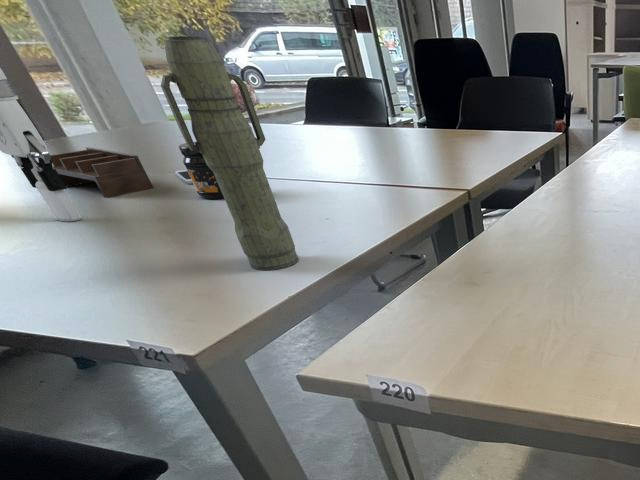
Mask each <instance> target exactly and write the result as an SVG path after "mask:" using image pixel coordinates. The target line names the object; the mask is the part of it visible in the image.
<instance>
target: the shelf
mask: <svg viewBox="0 0 640 480" xmlns="http://www.w3.org/2000/svg"><path fill="white" fill-rule="evenodd" d="M50 159H51V160H52V164H53V165H54V166H55V169H56V171H57V173H58V174H59V176H60V178H61V179H62V181H63V183H64V184H65V186H67V187H71V185H72V186H77V185H76V184H78V185H81V184H80V183H83V184H86V183H85V182H88V183H91V182H90V181H94V182H95V184H96V185H97V187H98V189H99V190H100V191H99V192H101V194H102V196H103V197H104V198H106V197H108V198H111V197H110V196H112V197H118V196H121V194H122V195H126V193H127V194H131V193H135V192H136V193H137V192H140V191H145V190H149V189H153V188H154V186H153V184H152V182H151V179H150V177H149V175H148V174H147V172H146V170H145V168H144V166H143V164H142V162H141V160H140V158H139V156H138V155H136V154H130V153H124V152H118V151H113V150H106V149H101V148H95V147H90V146H89V147H88V146H87V147H85V149H83V150H81V149H80V150H75V151H69V152H62V153H55V154H50Z"/></svg>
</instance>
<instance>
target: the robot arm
mask: <svg viewBox="0 0 640 480" xmlns="http://www.w3.org/2000/svg"><path fill="white" fill-rule="evenodd" d="M18 100H19V96H18V95H17V93H16V91H15V90H14V88H13V86H12V85H11V83H10V80H9V79H8V78H7V76H6V75H5V73H4V71H3V70H2V68H1V67H0V152H1V153H3V154H5V155H8V156H9V155H10V157H12V158H13V159H14V161H15V163H16V165H17V166H18V167H19V168H20V170H21V172H22V173H23V175H24V177H25V178H26V179H27V181H28V183H29V184H30V186H31V187H32V188H34V189H37V188H36V186H35V183H36V182H37V181H38V180H37V179H36V177H35V176H34V174H33V172H32V171H31V169H33V164H34V165H35V167H36V168H37V169H38V170H39V171H37V173H38V174H39V176H40V177H41V179H42V181H43V182H44V184H45V185H46V187H47V189H48V190H49V191H58V190H63V189H64V190H67V187H66V186H65V184H64V183H63V181H62V179H61V178H60V176H59V174H58V173H57V171H56V169H55V166H54V165H53V164H52V160H51V159H50V155H51V153H50V152H49V149H48V146H47V145H46V143H45V141H44V139H43V137H42V136H41V135H40V133H39V130H37V128H36V127H35V125H34V123H33V122H32V120H31V118H30V117H29V116H28V114H27V113H26V111H25V110H24V109H23V108H22V106H21V104H20V103H19V102H18ZM32 163H33V164H32Z"/></svg>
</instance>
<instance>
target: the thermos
mask: <svg viewBox="0 0 640 480" xmlns="http://www.w3.org/2000/svg"><path fill="white" fill-rule="evenodd" d="M167 38H168V39H164V49H165V57H166V63H167V65H168V67H169V70H170V72H169V73H167V74H163V75H162V79H161V83H160V87H161V90H162V92H163V95H164V97H165V100H166V102H167V104H168V105H169V108H170V110H171V113H172V115H173V117H174V120H175V122H176V124H177V127H178V128H179V130H180V133H181V135H182V137H183V139H184V141H185V143H187V145H188V147H189V148H190V150H191V151H199V153H201V154H202V155H203V157H204V160H205V162H206V164H207V166H208V167H209V168H210V169H211V170H212V171H213V173H214V175H215V178H216V180H217V182H218V185H219V187H220V189H221V192H222V194H223V196H224V198H223V200H224V201H225V204H226V205H227V209H228V211H229V213H230V215H231V217H232V219H233V222H234V232H235V235H236V237H237V239H238V242H239V244H240V247H241V250H242V252H243V253H244V255H245V256H246V257H247V259H248V262H249V265H250V267H251V268H252V269H253V270H258V271H276V270H282V269H286V268H289V267H291V266H294V265H296V264H297V263H298V262H299V261H298V260H300V259H299V256H298V254H297V251H296V245H295V243H294V239H293V237H292V234H291V232H290V229H289V226H288V224H287V223H286V221H284V219H283V218H282V216H281V213H280V210H279V208H278V204H277V202H276V199H275V197H274V194H273V191H272V189H271V185H270V183H269V180H268V177H267V175H266V172H265V170H264V158H263V156H262V153H261V150H260V149H261V147H262V146H263V145H264V143H265V142H266V137H265V134H264V132H263V128H262V125H261V122H260V121H259V117H258V115H257V111H256V109H255V105H254V103H253V99H252V97H251V95H250V92H249V89H248V86H247V84H246V83H245V82H244V81H243V80H242V79H241V78H240V77H239V76H238V75H237V74H234V73H229V72H228V71H227V69H226V67H225V64H224V61H223V59H222V58H221V56H220V54H219V53H218V51H217V50H216V48H215V47H214V45H213V44H212V42H211V41H210V40H207V39H205V37H204V36H188V35H187V36H185V35H184V36H182V35H180V36H176V35H175V36H174V35H173V36H167ZM232 81H234V82H235V84H236V85H237V87H238V90H239V92H240V96H241V98H242V101H243V104H244V106H245V109H246V112H247V114H248V118H249V121H250V123H251V124H250V123H249V122H248V120H247V118H245V116H244V114H243V112H242V109H241V106H239V105H238V102H237V100H236V97H237V96H236V93H235V91H234V88H233V84H232V83H231V82H232ZM171 83H174V84H176V86H177V88H178V90H179V94H180V95H181V97H182V99H184V102H185V104H186V106H187V112H188V115H189V116H190V123H191V131H192V134H193V136H194V139H195V141H194V140H193V138H192V135H191V133H190V130H189V129H188V126H187V124H186V121H185V119H184V116H183V114H182V113H181V110H180V108H179V105H178V103H177V101H176V99H175V96H174V94H173V92H172V90H171V85H170V84H171ZM193 142H195V144H196V145H194V143H193Z"/></svg>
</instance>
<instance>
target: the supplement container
mask: <svg viewBox="0 0 640 480" xmlns="http://www.w3.org/2000/svg"><path fill="white" fill-rule="evenodd" d="M195 142H196V141H193V143H194V145H196V144H195ZM178 149H179V151H180V153H181V155H182V156H183V159H182V163H183V165H184V167H185V168H186V170H187V171H188V173H189V175H190V177H191V179H192V182H193V183H192V184H193V186H194V188H195V190H196V193H197V195H198V196H199V197H201V198H203V199H206V200H207V199H208V200H222V199H223V200H224V196H223V194H222V192H221V189H220V187H219V185H218V182H217V180H216V178H215V175H214V173H213V171H212V170H211V169H210V168H209V167H208V166H207V164H206V162H205V160H204V157H203V155H202V154H201V153H199V151H191V150H190V148H189V147H188V145H187V143H186V142H184V143H181V144H179V145H178Z"/></svg>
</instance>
